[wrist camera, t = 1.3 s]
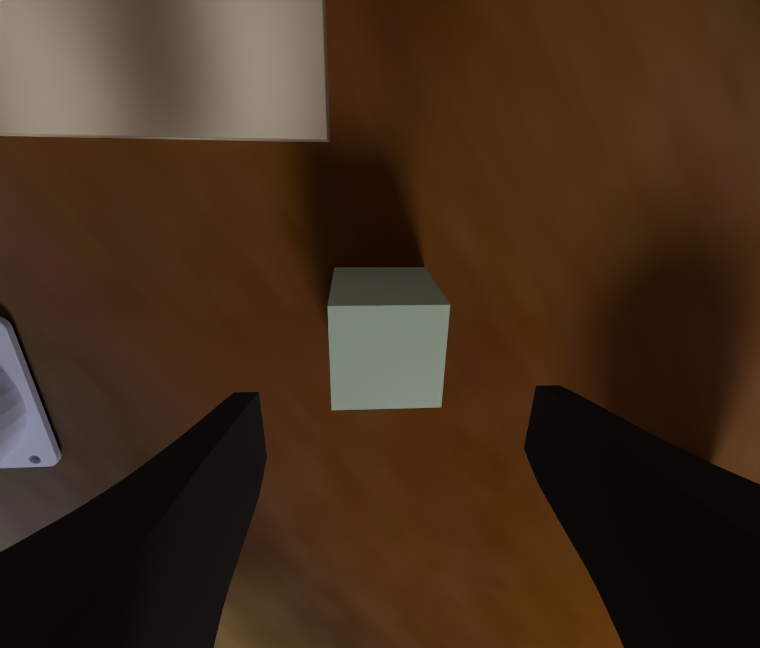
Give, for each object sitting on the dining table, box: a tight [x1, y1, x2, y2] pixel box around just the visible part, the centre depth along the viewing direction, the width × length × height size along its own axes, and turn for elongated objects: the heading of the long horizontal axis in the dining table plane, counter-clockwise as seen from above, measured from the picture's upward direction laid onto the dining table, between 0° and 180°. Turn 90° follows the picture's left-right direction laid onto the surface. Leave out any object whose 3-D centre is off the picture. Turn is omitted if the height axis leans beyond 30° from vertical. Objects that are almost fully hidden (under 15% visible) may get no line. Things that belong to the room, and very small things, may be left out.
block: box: [328, 267, 450, 410], centre depth 16 cm, size 4×4×5 cm
